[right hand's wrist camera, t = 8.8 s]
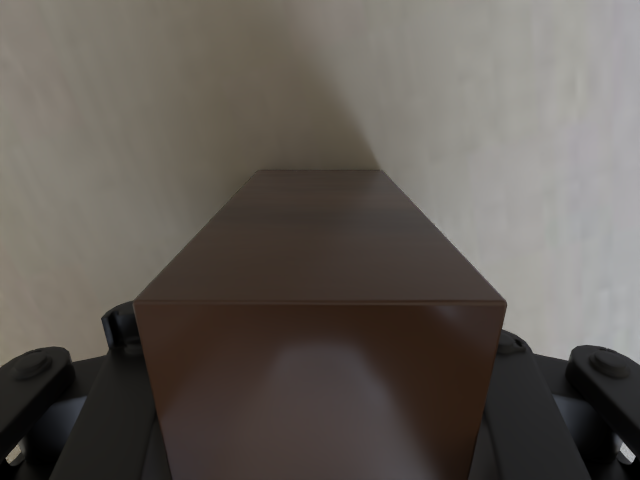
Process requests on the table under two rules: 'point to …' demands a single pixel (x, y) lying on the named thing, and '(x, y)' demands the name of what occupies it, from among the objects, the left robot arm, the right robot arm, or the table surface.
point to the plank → (319, 337)
